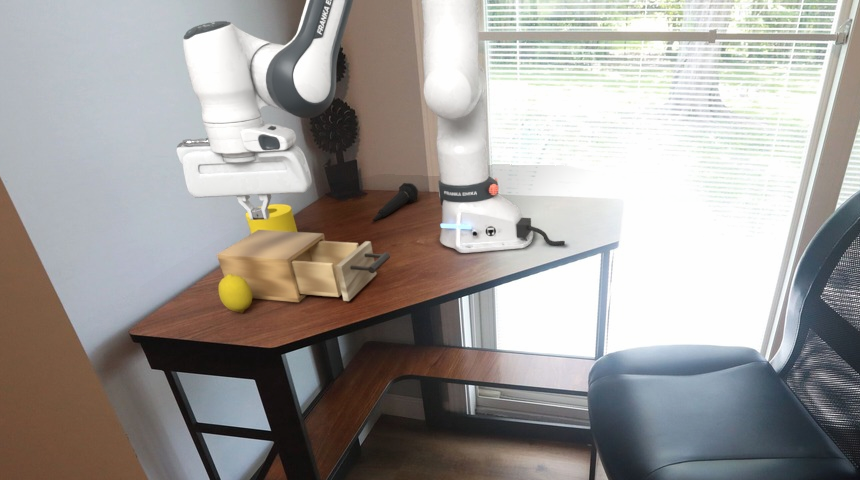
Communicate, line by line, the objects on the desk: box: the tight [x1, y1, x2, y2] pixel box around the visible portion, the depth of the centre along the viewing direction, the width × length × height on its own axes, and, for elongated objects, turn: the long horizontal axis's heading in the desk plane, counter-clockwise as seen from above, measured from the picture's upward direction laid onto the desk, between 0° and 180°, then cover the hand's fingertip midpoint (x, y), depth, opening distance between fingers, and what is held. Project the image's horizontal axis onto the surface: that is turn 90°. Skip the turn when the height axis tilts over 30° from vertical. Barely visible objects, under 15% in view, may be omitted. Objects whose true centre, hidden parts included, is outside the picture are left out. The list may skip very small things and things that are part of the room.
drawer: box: [290, 240, 391, 302], centre depth 113 cm, size 20×12×7 cm, turn 76°
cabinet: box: [216, 230, 326, 303], centre depth 116 cm, size 16×14×9 cm
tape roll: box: [245, 203, 298, 234], centre depth 133 cm, size 10×10×9 cm
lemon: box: [218, 274, 253, 314], centre depth 107 cm, size 6×6×8 cm
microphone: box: [372, 182, 419, 222], centre depth 155 cm, size 6×6×20 cm
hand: (260, 218), depth 101 cm, fingers closed
